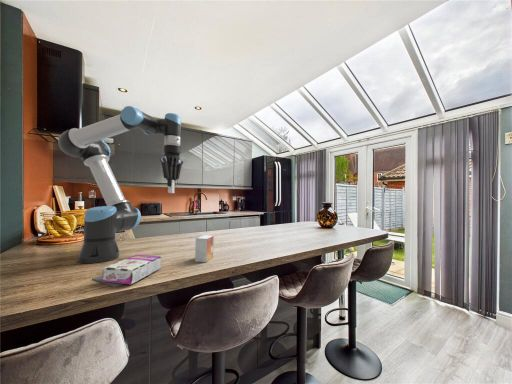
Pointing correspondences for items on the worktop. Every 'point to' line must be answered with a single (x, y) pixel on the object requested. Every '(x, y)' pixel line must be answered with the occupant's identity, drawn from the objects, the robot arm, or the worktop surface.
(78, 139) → the robot arm
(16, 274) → the worktop surface
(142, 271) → the candy bar box
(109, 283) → the mat
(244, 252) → the worktop surface
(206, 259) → the small box
